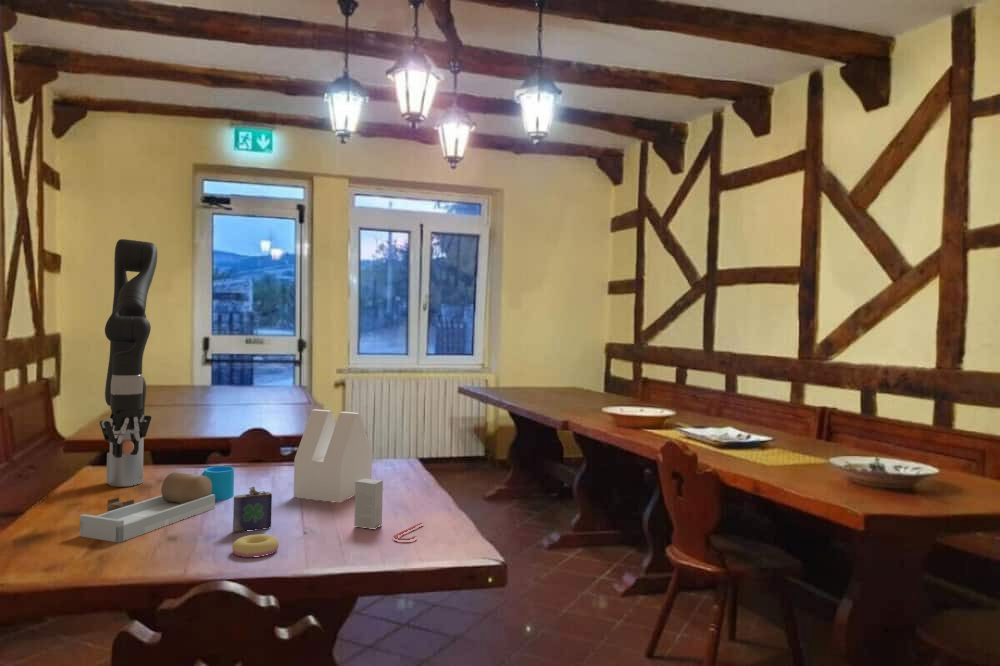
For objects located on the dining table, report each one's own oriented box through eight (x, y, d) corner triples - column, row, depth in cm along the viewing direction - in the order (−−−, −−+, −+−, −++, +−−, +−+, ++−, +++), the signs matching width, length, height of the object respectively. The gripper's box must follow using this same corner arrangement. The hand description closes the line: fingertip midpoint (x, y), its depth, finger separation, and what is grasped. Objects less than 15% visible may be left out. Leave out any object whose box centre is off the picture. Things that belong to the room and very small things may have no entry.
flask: (233, 533, 174) (234, 490, 173) (231, 530, 176) (232, 487, 176) (272, 529, 178) (273, 486, 178) (269, 525, 181) (270, 484, 181)
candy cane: (439, 530, 184) (439, 525, 184) (408, 546, 170) (408, 540, 170) (419, 527, 186) (420, 521, 186) (387, 542, 173) (387, 536, 173)
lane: (79, 536, 168) (80, 496, 168) (179, 503, 198) (180, 469, 198) (119, 542, 164) (119, 501, 164) (214, 508, 195) (215, 473, 194)
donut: (233, 558, 164) (235, 565, 155) (230, 538, 164) (232, 544, 155) (277, 546, 168) (282, 553, 159) (274, 527, 168) (278, 533, 159)
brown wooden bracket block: (107, 512, 187) (107, 499, 187) (116, 509, 190) (116, 497, 190) (124, 515, 185) (125, 502, 185) (134, 512, 188) (134, 499, 188)
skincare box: (382, 526, 184) (383, 480, 184) (374, 530, 180) (375, 483, 180) (361, 523, 186) (363, 477, 186) (353, 527, 182) (354, 481, 181)
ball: (113, 454, 186) (113, 439, 186) (127, 452, 190) (127, 437, 190) (123, 456, 185) (124, 441, 185) (137, 454, 188) (137, 439, 188)
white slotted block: (339, 503, 204) (341, 417, 203) (293, 497, 209) (295, 413, 208) (371, 488, 222) (373, 409, 222) (328, 483, 227) (330, 406, 226)
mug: (239, 496, 208) (240, 468, 208) (216, 502, 201) (216, 473, 201) (212, 490, 214) (213, 463, 214) (188, 495, 207) (189, 467, 207)
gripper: (141, 388, 195) (139, 450, 195) (92, 392, 182) (90, 458, 182) (159, 390, 192) (158, 453, 192) (111, 395, 179) (110, 462, 179)
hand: (125, 455), depth 187 cm, fingers closed on ball, 4 cm apart
